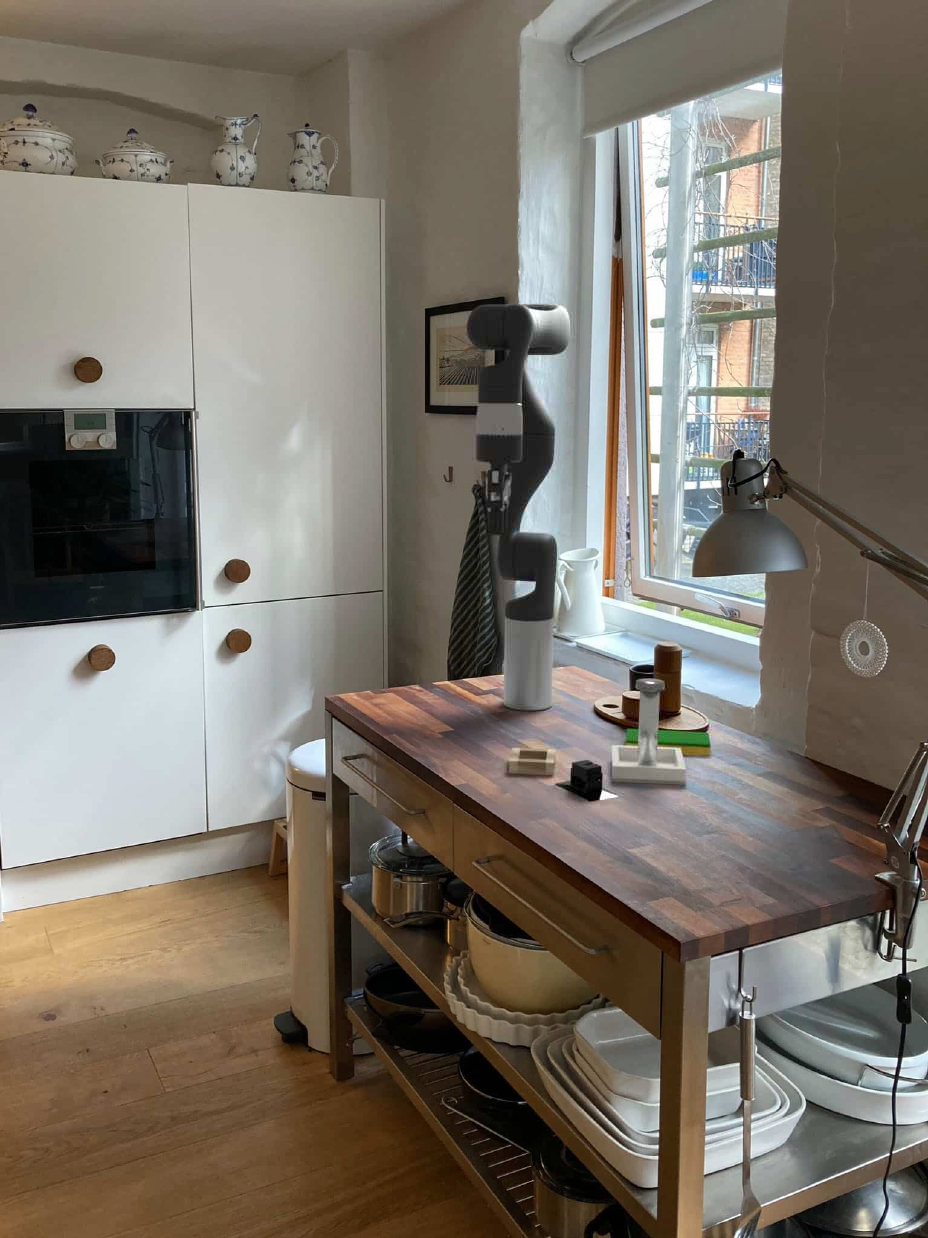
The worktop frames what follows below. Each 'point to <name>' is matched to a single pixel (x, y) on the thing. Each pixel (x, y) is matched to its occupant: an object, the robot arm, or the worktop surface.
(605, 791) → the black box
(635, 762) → the dish
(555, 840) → the worktop surface
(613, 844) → the worktop surface
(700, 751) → the dish sponge
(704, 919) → the worktop surface
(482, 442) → the robot arm
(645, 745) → the pin
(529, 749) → the socket block
